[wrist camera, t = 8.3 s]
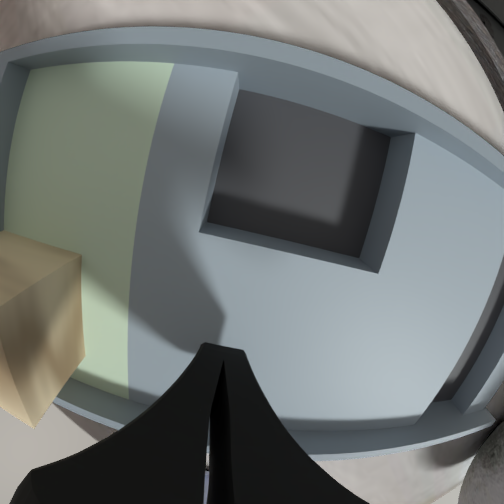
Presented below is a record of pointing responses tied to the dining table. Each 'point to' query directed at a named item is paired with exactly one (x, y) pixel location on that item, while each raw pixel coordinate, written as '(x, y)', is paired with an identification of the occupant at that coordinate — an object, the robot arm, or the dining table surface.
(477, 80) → the dining table surface
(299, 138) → the tray
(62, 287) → the maple block
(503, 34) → the picture frame
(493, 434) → the moon model
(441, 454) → the dining table surface
